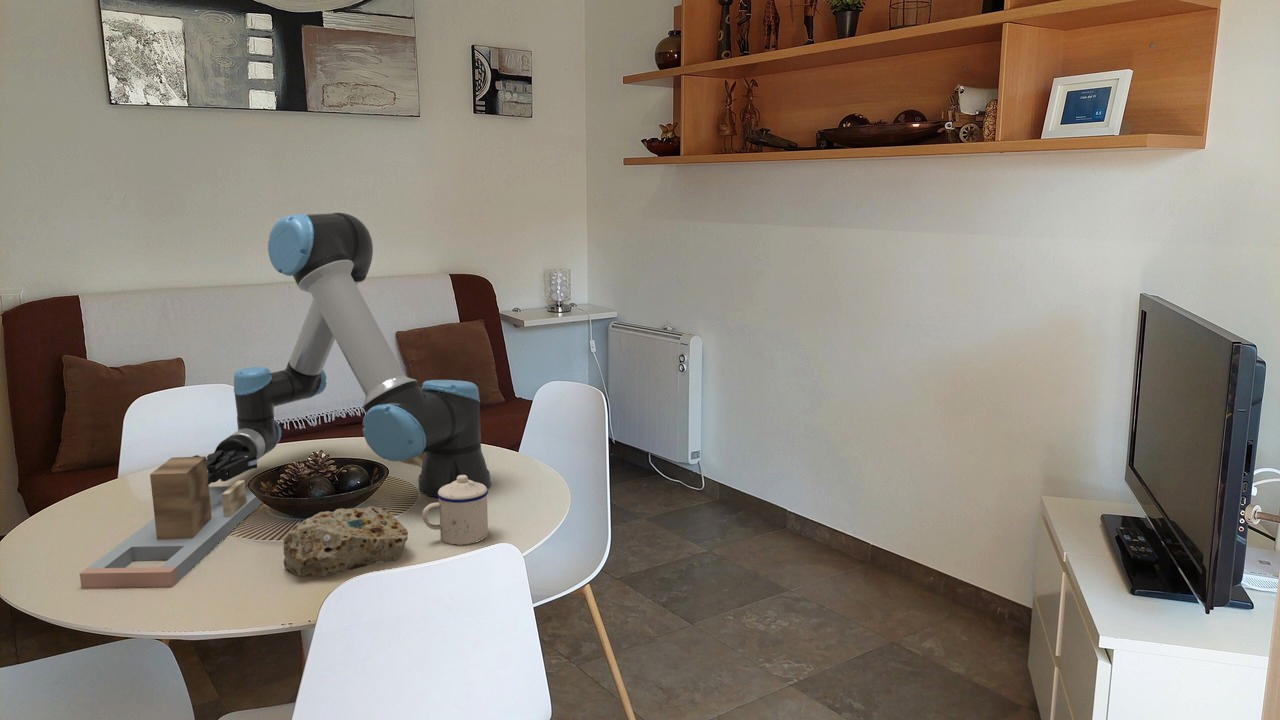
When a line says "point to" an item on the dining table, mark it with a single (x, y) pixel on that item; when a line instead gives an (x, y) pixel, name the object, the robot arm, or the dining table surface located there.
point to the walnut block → (181, 497)
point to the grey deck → (165, 550)
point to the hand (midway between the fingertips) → (189, 487)
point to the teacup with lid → (461, 511)
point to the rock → (343, 541)
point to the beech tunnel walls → (234, 498)
